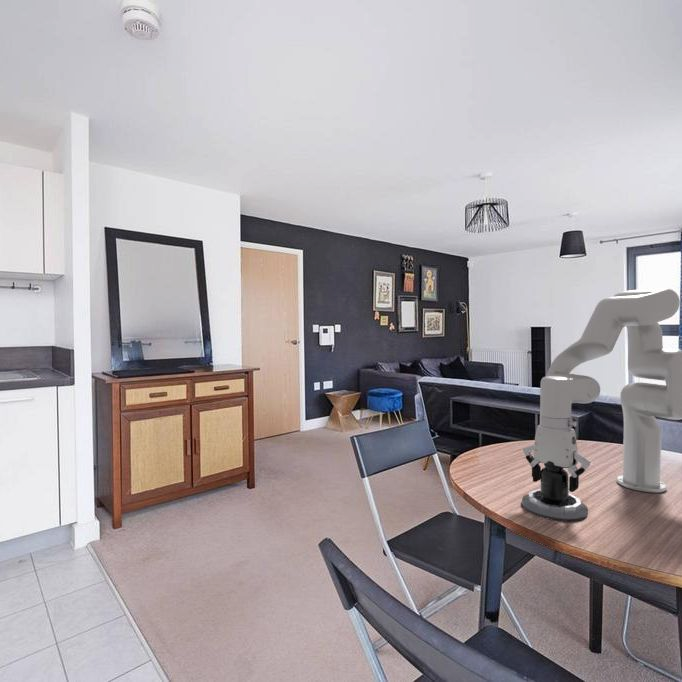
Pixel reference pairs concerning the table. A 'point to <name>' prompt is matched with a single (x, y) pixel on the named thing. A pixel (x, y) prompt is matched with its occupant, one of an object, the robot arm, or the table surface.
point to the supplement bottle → (554, 485)
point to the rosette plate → (554, 515)
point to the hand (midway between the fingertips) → (554, 485)
